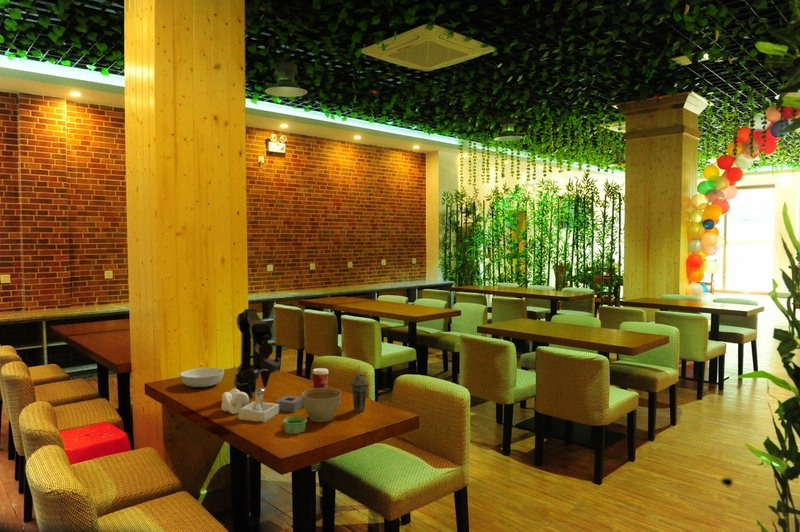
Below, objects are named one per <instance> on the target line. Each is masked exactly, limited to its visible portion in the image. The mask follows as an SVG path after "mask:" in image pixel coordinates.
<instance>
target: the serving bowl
mask: <svg viewBox="0 0 800 532" xmlns="http://www.w3.org/2000/svg"><path fill="white" fill-rule="evenodd" d="M224 374H225V370H224V369H222V368H219V367H218V368H217V367H200V368H199V367H198V368H193V369H188V370H184V371H182V372H181V373H180V374H179V376H180V377H179V378H180V381H181V382H182V383H183V384H184V385H186V386H187V387H190V388H195V387H205V388H208V386H209V387H211V386H214V385H217V384H218V383H220V382H221V381H222V379H223V377H224Z"/></svg>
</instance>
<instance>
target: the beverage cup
mask: <svg viewBox="0 0 800 532" xmlns="http://www.w3.org/2000/svg"><path fill="white" fill-rule="evenodd" d="M357 367H358V368H357V369H358V374H357V375H355V376H354V377H353V379H352V381H351V389H352V398H353V399H352V402H353V410H354V412H356V411H359V412H358V413H361V412H360V411H363V412H365V408H366V401H367V400H366V398H367V389H368V387H369V386H368V385H369V382H368V380H367V378H366V376H365V375H362V374H360V373H361V372H360V365H358V366H357Z"/></svg>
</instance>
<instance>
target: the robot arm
mask: <svg viewBox="0 0 800 532" xmlns="http://www.w3.org/2000/svg"><path fill="white" fill-rule="evenodd" d="M236 326H237V329H238V331H239V332H240V333H241V334H240V364H239V366H238V367H237V369H236V374H235V376H234V379H233V380H234V381H233V385H234V386H235V388H236V389H238V390H239V391H240V392H244V393H246V394H247V395H248V397H249V400H251V399H253V398H254V397H255V396H254V394H256V393H255V390H256V388H257V380H258V379H259V378H260V377H261V381H262V386H263V388H267V385H268V383H269V381H270V376H271V374H273V373H275V372H278V370H279V368H280V367H281V366H282V364H281V358H279V357H276V358H270V356H271V355H272V354H273V352H274V348H273V345H271V343H269V341H272V338H273V332H272V329H271V326H270V325H269V323H268V322H267V321H266V320H262V319H261V318H260V316H259V315H258V312H257V309H255V308H246V309H244V310H243V311H242V312H240V313H238V314H237V317H236ZM251 361H252V363H251Z"/></svg>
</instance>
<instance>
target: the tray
mask: <svg viewBox="0 0 800 532" xmlns="http://www.w3.org/2000/svg"><path fill="white" fill-rule="evenodd" d="M279 414H280V411H279V404H276V403H272V402H271V403H270V402H263V411H256V401H252V402H249V403H248V405H246V406H245V407H243V408H241V409H239V413H238V420H241V421H242V420H243V421H244V420H245V421H250V420H251V422H259V421H261V422H260V423H266V422H268V421H269V420H271V419H273V418H274V417H275V415H276V416H278V415H279ZM267 420H268V421H267Z"/></svg>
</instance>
